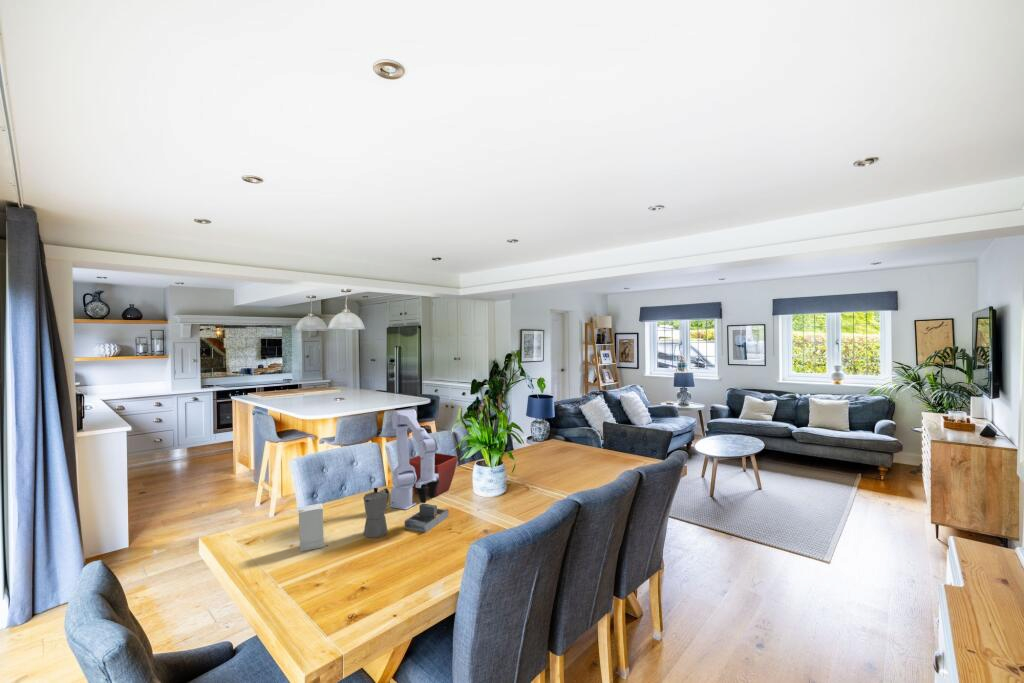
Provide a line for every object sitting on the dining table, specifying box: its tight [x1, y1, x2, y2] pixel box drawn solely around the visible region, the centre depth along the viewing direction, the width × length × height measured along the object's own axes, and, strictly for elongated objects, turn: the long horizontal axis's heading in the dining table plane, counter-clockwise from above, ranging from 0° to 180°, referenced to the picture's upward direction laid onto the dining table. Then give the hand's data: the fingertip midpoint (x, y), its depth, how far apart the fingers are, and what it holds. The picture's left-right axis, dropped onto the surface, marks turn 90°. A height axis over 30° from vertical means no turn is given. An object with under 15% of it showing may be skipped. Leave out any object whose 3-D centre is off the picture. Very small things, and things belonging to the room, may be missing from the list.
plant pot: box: [409, 452, 458, 498], centre depth 232 cm, size 19×19×17 cm
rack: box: [404, 508, 450, 534], centre depth 193 cm, size 10×18×4 cm, turn 158°
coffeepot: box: [363, 487, 390, 539], centre depth 183 cm, size 15×9×18 cm, turn 162°
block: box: [418, 503, 438, 518], centre depth 193 cm, size 7×2×6 cm, turn 68°
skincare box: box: [298, 503, 325, 552], centre depth 170 cm, size 8×6×15 cm
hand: (427, 500), depth 193 cm, fingers open, 6 cm apart
